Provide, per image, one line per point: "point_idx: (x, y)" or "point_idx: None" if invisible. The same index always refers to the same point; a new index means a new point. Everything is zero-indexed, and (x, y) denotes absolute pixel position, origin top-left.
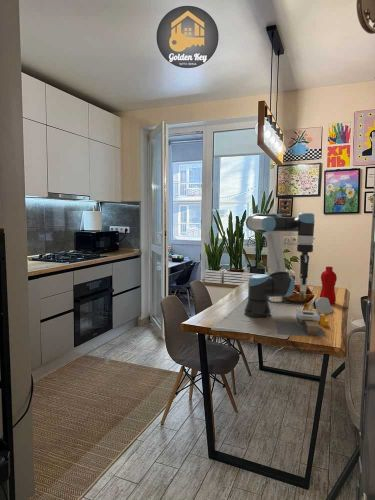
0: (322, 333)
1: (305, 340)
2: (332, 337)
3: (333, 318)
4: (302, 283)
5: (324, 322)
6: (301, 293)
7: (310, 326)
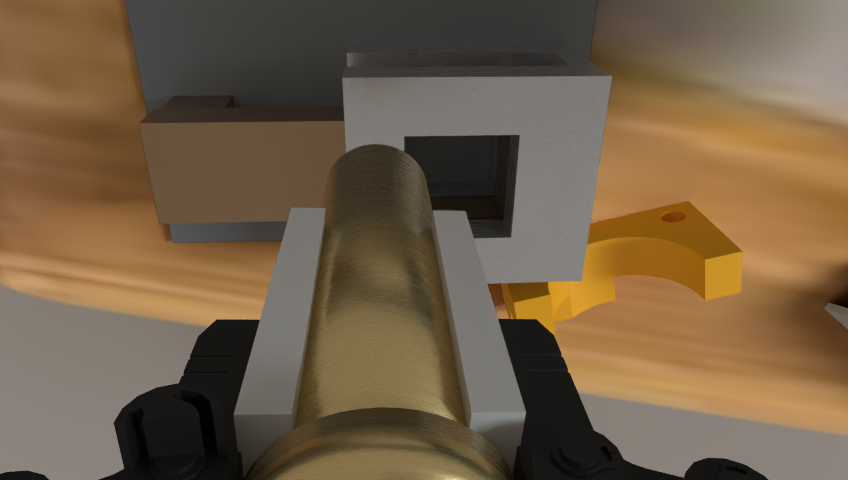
0: (269, 232)
1: (35, 59)
2: (220, 286)
3: (735, 374)
4: (229, 336)
5: (506, 295)
6: (327, 203)
7: (146, 149)
